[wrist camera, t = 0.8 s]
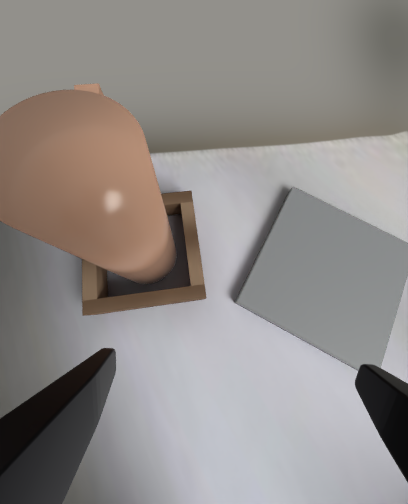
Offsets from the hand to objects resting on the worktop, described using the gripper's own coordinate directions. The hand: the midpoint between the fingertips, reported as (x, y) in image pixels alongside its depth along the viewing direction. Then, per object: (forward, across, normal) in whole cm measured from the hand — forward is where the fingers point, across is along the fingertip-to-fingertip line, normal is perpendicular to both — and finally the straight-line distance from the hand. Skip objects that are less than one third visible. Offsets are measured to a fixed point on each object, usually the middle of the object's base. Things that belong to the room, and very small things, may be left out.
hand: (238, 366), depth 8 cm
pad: (+15, -12, +1) cm, 19 cm away
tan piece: (+16, +7, -1) cm, 17 cm away
